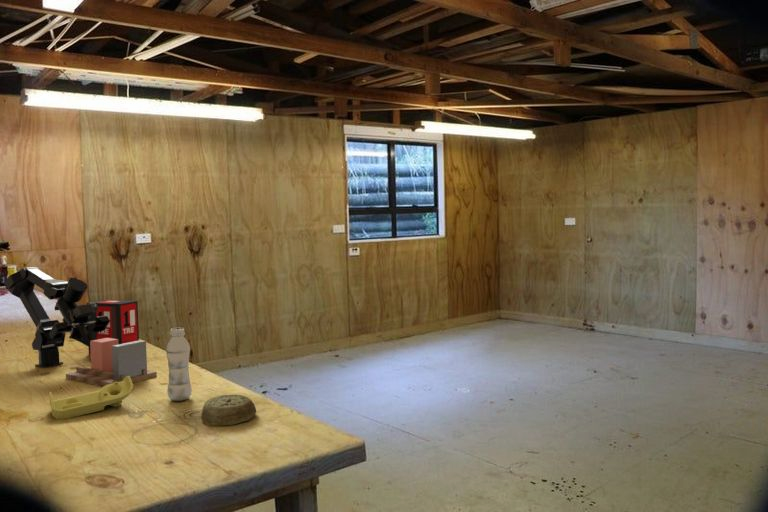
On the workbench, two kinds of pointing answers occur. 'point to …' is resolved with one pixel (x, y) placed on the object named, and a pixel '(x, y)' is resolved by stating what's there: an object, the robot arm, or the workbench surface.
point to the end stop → (129, 359)
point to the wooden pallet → (103, 376)
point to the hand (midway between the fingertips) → (91, 346)
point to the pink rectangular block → (102, 354)
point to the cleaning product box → (117, 320)
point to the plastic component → (91, 400)
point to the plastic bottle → (178, 366)
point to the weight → (227, 410)
